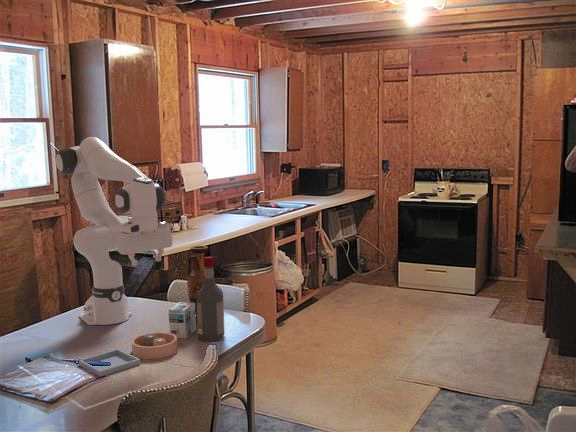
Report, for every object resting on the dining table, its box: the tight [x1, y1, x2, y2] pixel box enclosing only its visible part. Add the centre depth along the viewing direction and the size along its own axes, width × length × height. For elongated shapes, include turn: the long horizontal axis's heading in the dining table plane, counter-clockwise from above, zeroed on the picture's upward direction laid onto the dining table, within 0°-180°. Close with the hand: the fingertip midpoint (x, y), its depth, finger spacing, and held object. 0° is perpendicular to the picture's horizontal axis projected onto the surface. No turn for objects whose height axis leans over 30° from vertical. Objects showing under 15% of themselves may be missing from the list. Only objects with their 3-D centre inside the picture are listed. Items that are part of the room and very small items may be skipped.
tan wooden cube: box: [153, 338, 166, 346], centre depth 203 cm, size 4×4×4 cm
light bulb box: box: [168, 301, 197, 339], centre depth 224 cm, size 11×7×11 cm, turn 169°
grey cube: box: [144, 334, 156, 347], centre depth 207 cm, size 4×4×4 cm
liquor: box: [196, 255, 225, 343], centre depth 217 cm, size 9×9×30 cm
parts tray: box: [78, 348, 141, 378], centre depth 194 cm, size 14×14×2 cm
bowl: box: [131, 331, 178, 360], centre depth 206 cm, size 15×15×4 cm
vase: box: [185, 245, 209, 325], centre depth 237 cm, size 11×11×30 cm
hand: (146, 263), depth 211 cm, fingers open, 8 cm apart
